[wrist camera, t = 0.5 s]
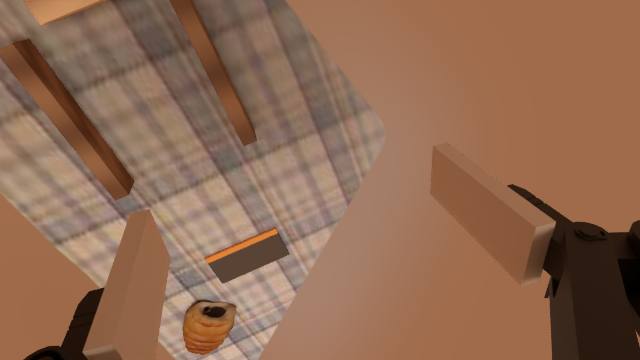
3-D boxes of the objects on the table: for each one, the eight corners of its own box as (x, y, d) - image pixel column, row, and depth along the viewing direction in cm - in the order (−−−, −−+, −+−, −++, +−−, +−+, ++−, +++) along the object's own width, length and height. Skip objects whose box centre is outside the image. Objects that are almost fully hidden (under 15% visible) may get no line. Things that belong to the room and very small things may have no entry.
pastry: (221, 345, 57) (221, 367, 53) (175, 342, 54) (172, 366, 51) (237, 300, 53) (238, 321, 50) (189, 296, 51) (187, 317, 47)
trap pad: (205, 257, 48) (204, 259, 47) (275, 227, 48) (275, 228, 48) (222, 282, 50) (222, 284, 50) (288, 253, 51) (289, 254, 51)
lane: (12, 45, 32) (-5, 51, 30) (181, -22, 33) (178, -23, 30) (121, 186, 41) (115, 200, 38) (254, 130, 41) (257, 140, 39)
